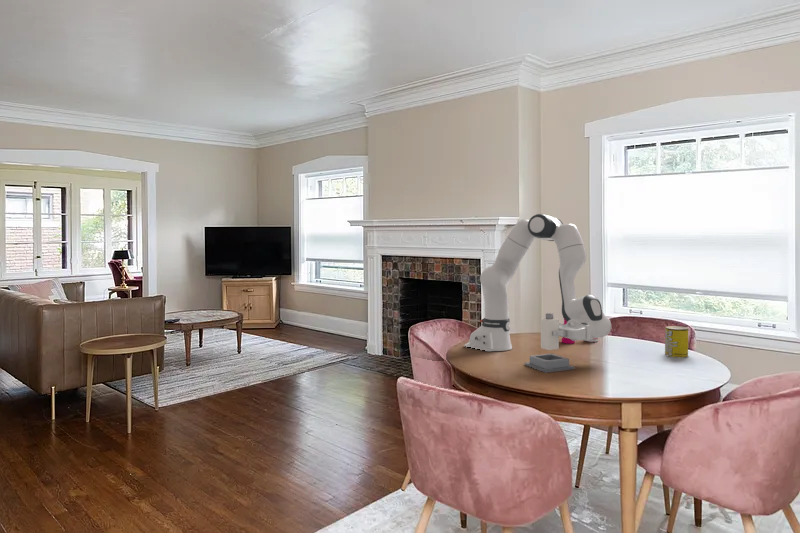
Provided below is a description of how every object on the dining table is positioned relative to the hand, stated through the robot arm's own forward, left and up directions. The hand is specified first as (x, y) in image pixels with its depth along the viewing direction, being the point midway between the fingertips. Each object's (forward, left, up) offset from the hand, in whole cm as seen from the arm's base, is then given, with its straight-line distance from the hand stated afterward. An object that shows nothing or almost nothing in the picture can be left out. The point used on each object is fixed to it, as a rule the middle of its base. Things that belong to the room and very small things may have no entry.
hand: (547, 332), depth 224 cm
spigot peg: (+1, +1, -6) cm, 7 cm away
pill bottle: (-5, +64, -14) cm, 65 cm away
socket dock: (0, +1, -14) cm, 14 cm away
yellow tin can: (+36, +53, -14) cm, 66 cm away
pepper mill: (-13, +54, -14) cm, 57 cm away
